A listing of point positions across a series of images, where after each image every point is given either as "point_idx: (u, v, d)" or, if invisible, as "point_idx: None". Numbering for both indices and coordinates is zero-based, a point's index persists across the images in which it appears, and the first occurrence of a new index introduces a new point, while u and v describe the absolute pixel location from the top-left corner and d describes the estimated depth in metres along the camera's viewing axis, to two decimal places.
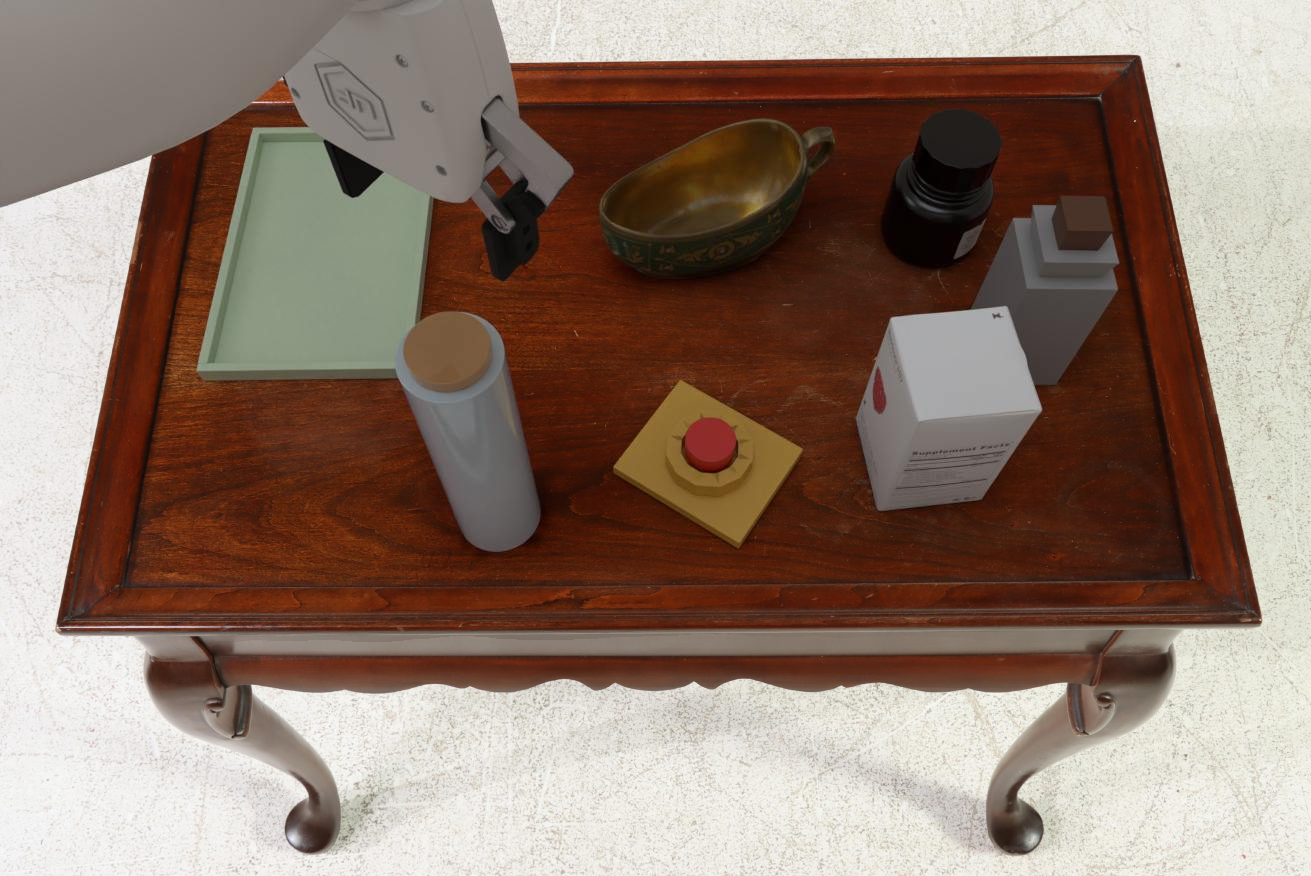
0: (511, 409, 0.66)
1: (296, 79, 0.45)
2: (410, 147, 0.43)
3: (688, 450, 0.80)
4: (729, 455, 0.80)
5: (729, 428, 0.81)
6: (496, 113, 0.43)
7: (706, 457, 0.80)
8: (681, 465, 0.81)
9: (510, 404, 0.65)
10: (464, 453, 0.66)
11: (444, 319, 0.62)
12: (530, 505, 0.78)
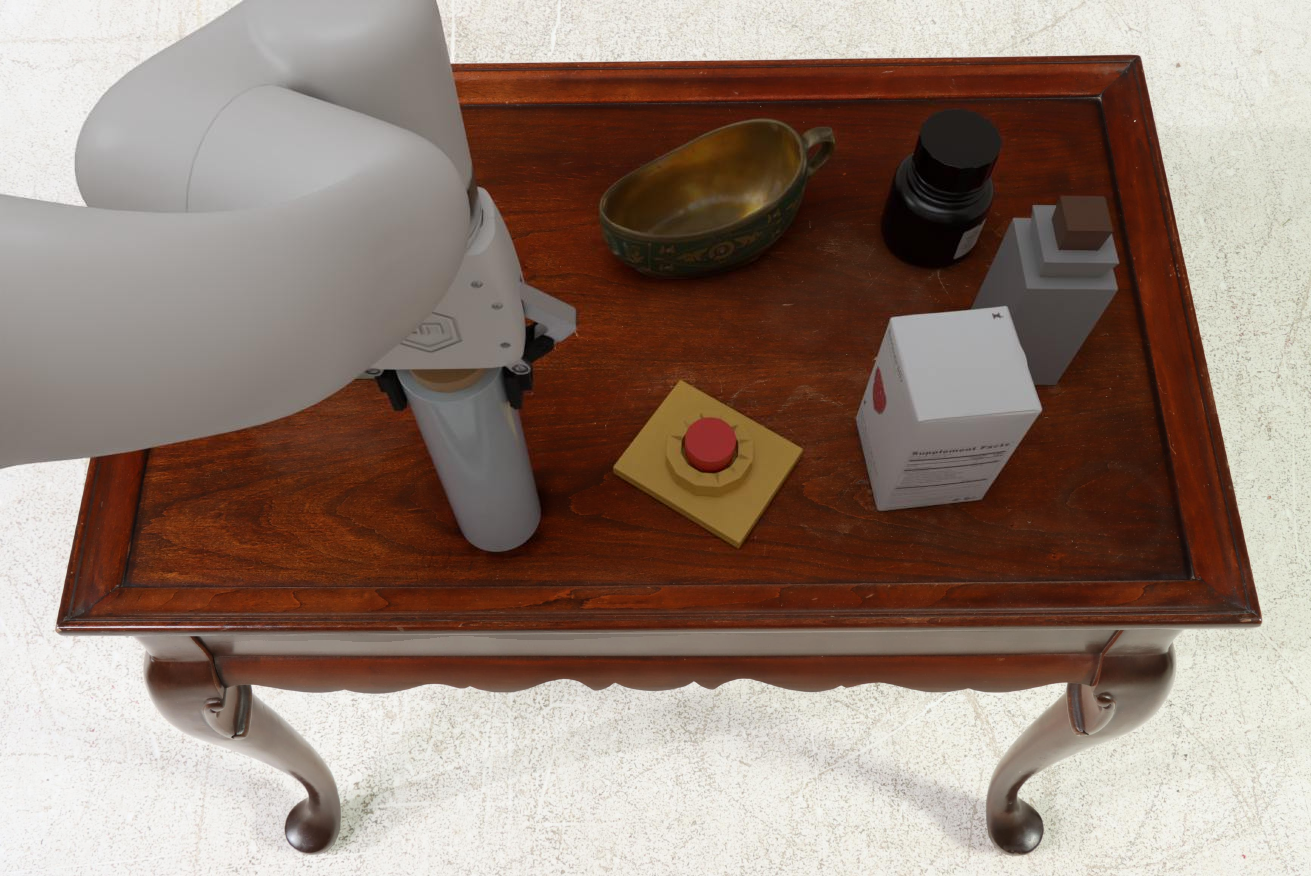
0: (511, 409, 0.66)
1: None
2: (476, 340, 0.56)
3: (688, 450, 0.80)
4: (729, 455, 0.80)
5: (729, 428, 0.81)
6: (524, 292, 0.57)
7: (706, 457, 0.80)
8: (681, 465, 0.81)
9: None
10: (464, 453, 0.66)
11: None
12: (530, 505, 0.78)
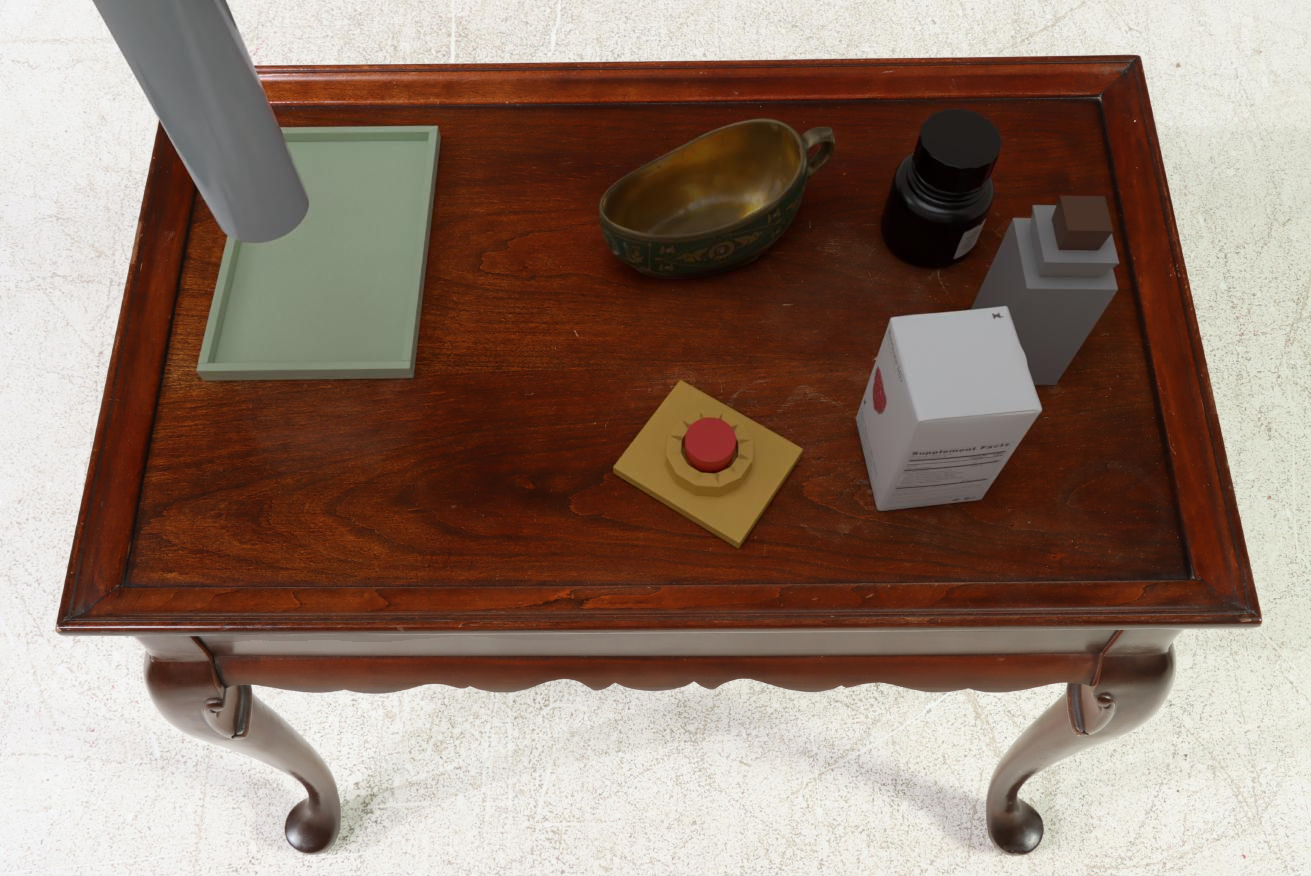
0: (209, 0, 0.57)
1: None
2: None
3: (688, 450, 0.80)
4: (729, 455, 0.80)
5: (729, 428, 0.81)
6: None
7: (706, 457, 0.80)
8: (681, 465, 0.81)
9: None
10: (156, 51, 0.57)
11: None
12: (281, 177, 0.69)
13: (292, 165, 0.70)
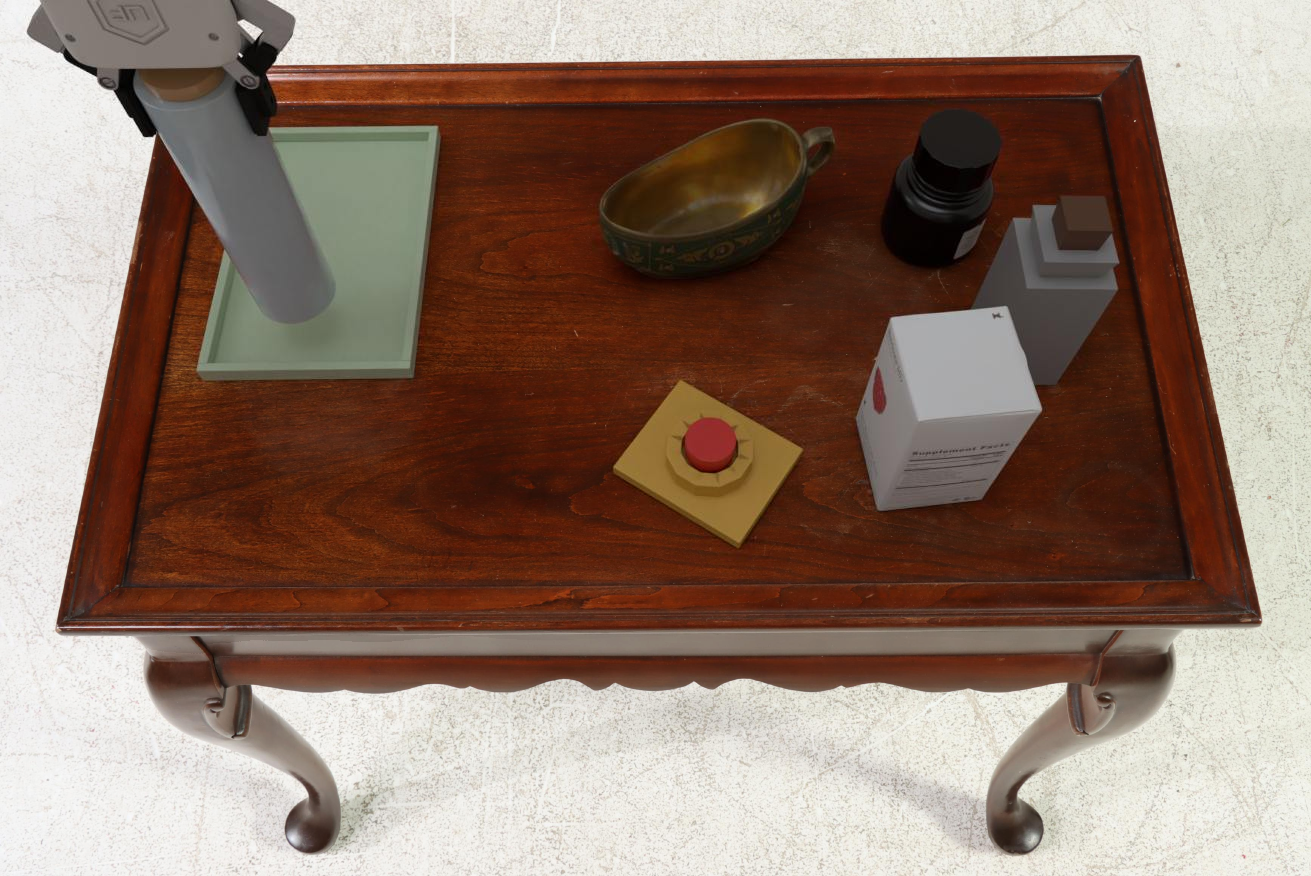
0: (259, 140, 0.69)
1: (69, 23, 0.59)
2: (183, 29, 0.59)
3: (688, 450, 0.80)
4: (729, 455, 0.80)
5: (729, 428, 0.81)
6: None
7: (706, 457, 0.80)
8: (681, 465, 0.81)
9: None
10: (215, 182, 0.69)
11: None
12: (314, 270, 0.81)
13: (322, 259, 0.82)
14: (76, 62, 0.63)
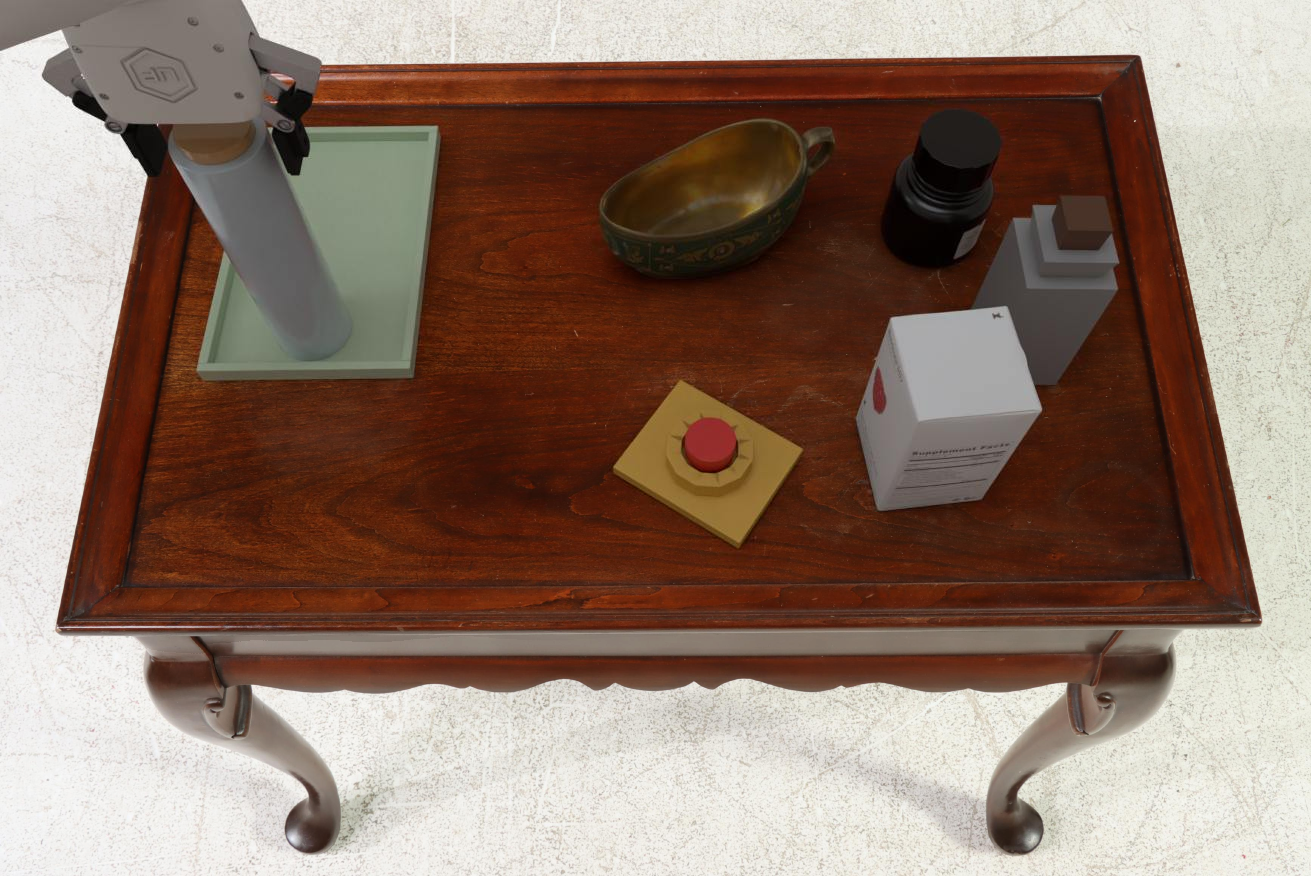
0: (284, 196, 0.74)
1: (103, 83, 0.62)
2: (211, 89, 0.63)
3: (688, 450, 0.80)
4: (729, 455, 0.80)
5: (729, 428, 0.81)
6: (256, 43, 0.63)
7: (706, 457, 0.80)
8: (681, 465, 0.81)
9: (282, 190, 0.73)
10: (243, 236, 0.74)
11: None
12: (332, 311, 0.86)
13: (340, 300, 0.87)
14: (84, 108, 0.66)
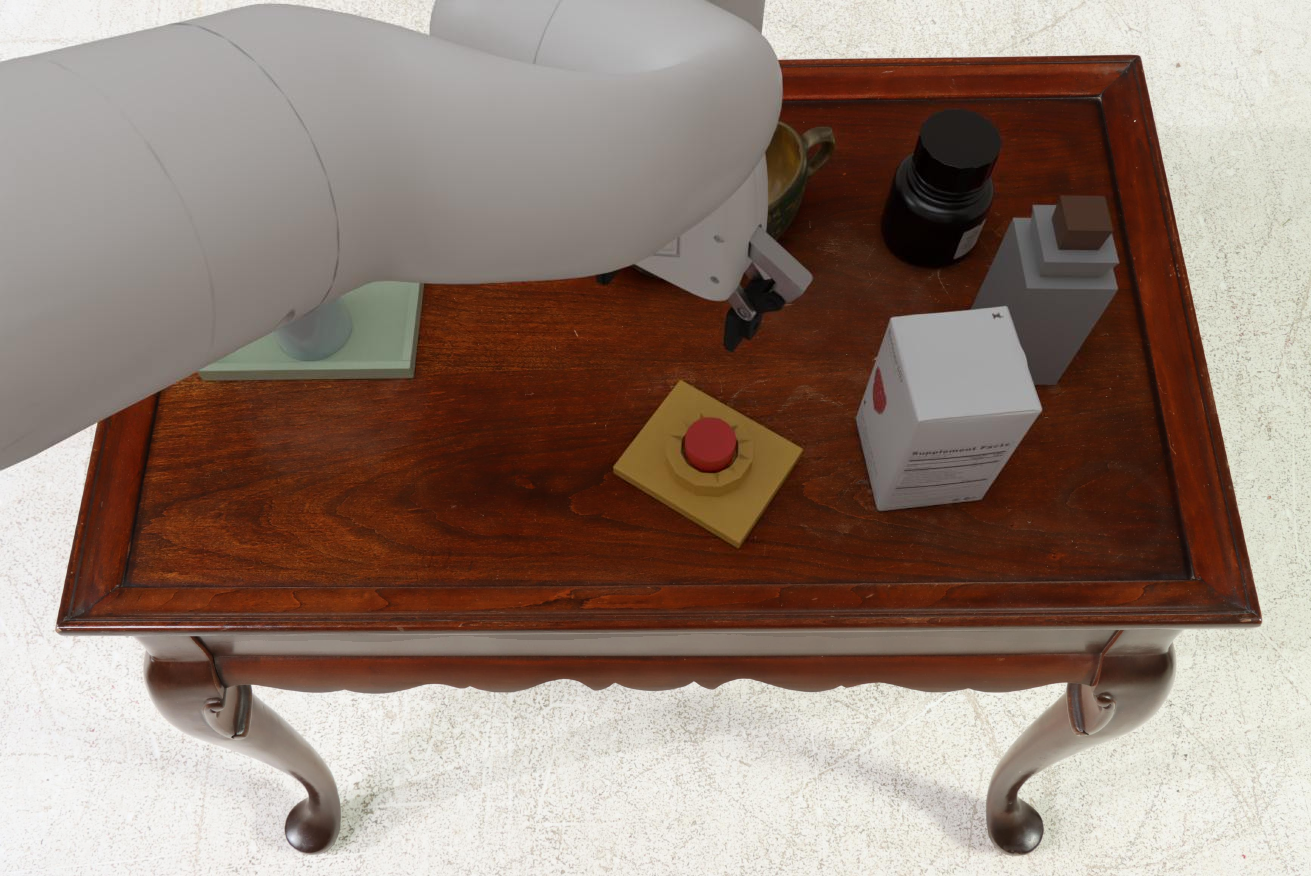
0: None
1: None
2: (692, 263, 0.58)
3: (688, 450, 0.80)
4: (729, 455, 0.80)
5: (729, 428, 0.81)
6: (758, 237, 0.57)
7: (706, 457, 0.80)
8: (681, 465, 0.81)
9: None
10: None
11: None
12: (332, 311, 0.86)
13: (340, 300, 0.87)
14: None
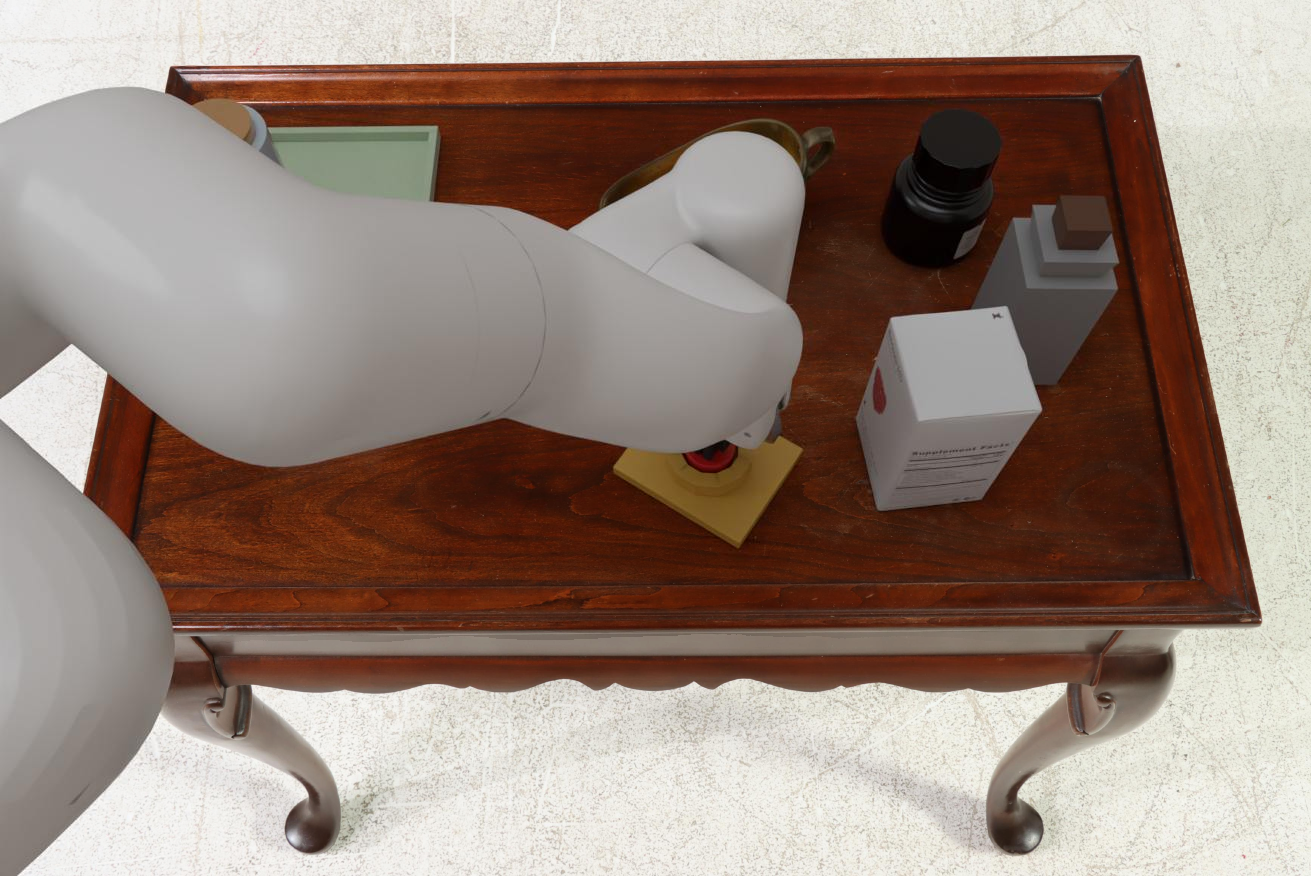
0: None
1: None
2: None
3: (688, 455, 0.81)
4: (728, 460, 0.81)
5: None
6: None
7: (706, 462, 0.81)
8: (681, 465, 0.81)
9: None
10: None
11: (212, 104, 0.70)
12: None
13: None
14: None
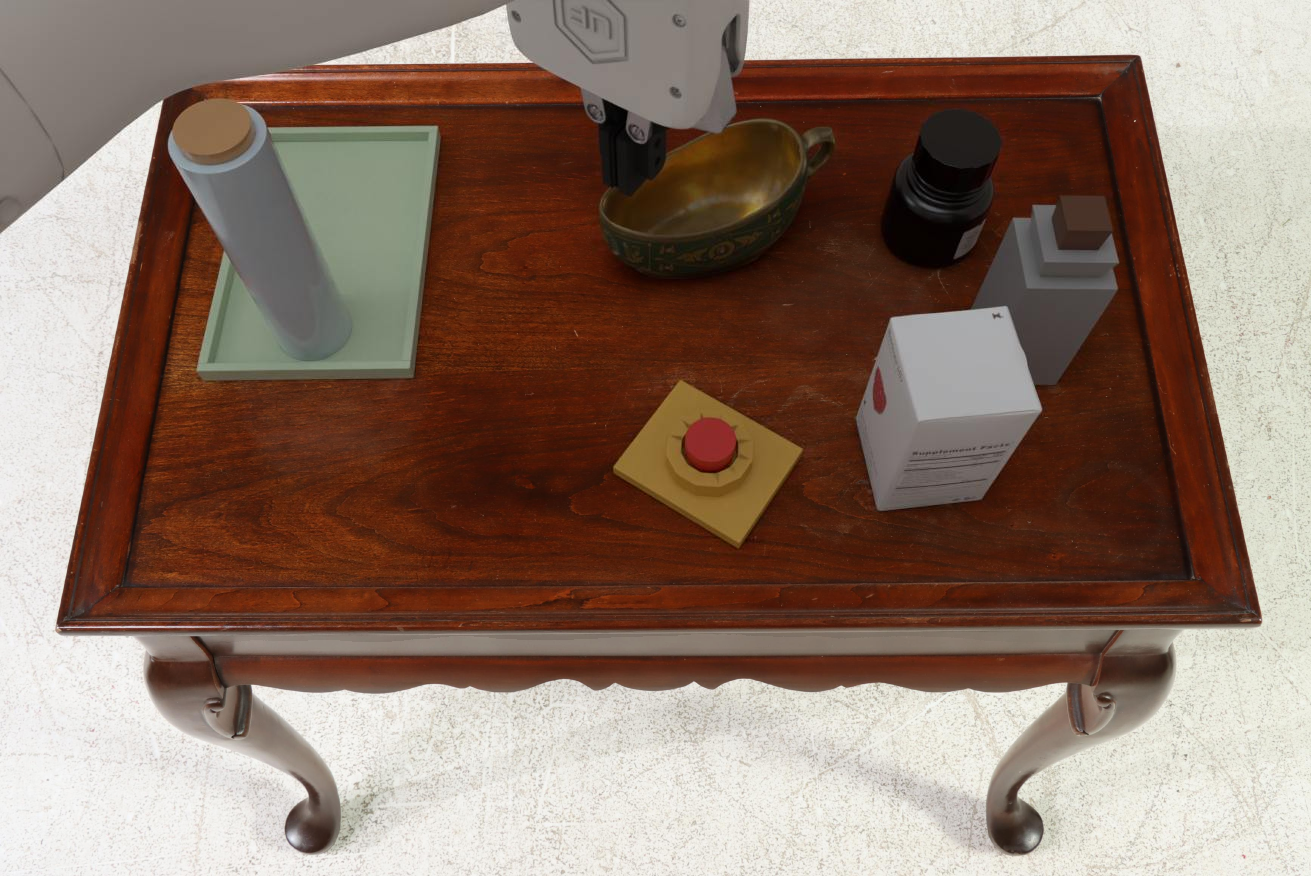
0: (284, 196, 0.74)
1: (522, 0, 0.44)
2: (645, 68, 0.42)
3: (688, 450, 0.80)
4: (729, 455, 0.80)
5: (729, 428, 0.81)
6: None
7: (706, 457, 0.80)
8: (681, 465, 0.81)
9: (282, 190, 0.73)
10: (243, 236, 0.74)
11: (212, 104, 0.70)
12: (332, 311, 0.86)
13: (340, 300, 0.87)
14: None
